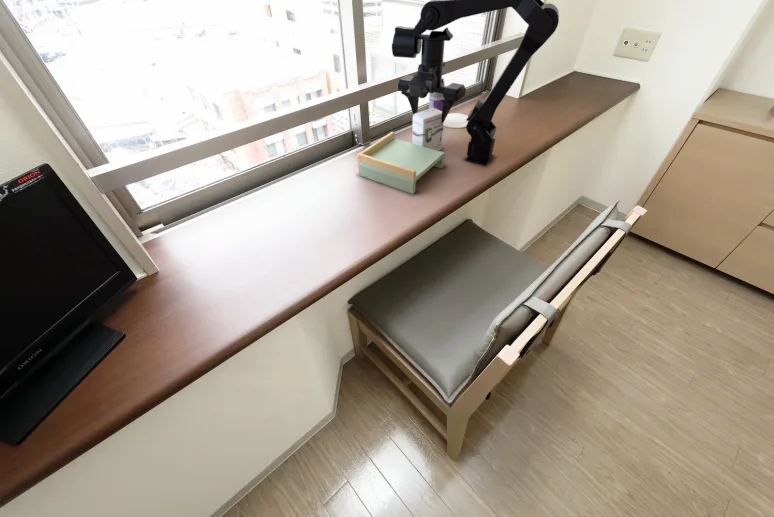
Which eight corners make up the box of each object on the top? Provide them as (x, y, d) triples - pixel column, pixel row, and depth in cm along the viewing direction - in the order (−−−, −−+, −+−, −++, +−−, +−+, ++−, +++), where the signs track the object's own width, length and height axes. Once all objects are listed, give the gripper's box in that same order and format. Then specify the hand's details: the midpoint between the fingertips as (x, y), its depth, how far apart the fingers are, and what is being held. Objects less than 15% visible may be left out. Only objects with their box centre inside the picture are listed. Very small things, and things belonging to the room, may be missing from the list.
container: (442, 126, 119) (446, 80, 109) (439, 131, 116) (443, 85, 106) (429, 124, 120) (432, 79, 110) (425, 130, 117) (428, 83, 107)
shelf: (443, 166, 99) (445, 145, 95) (413, 194, 89) (413, 172, 85) (392, 151, 107) (391, 131, 102) (359, 175, 97) (357, 154, 92)
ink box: (421, 158, 103) (423, 119, 95) (411, 152, 106) (412, 114, 98) (441, 149, 107) (445, 111, 99) (431, 144, 110) (433, 106, 101)
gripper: (385, 62, 88) (387, 122, 99) (450, 72, 80) (444, 136, 91) (408, 52, 94) (407, 109, 105) (470, 60, 86) (462, 121, 97)
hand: (428, 119), depth 99 cm, fingers open, 9 cm apart
